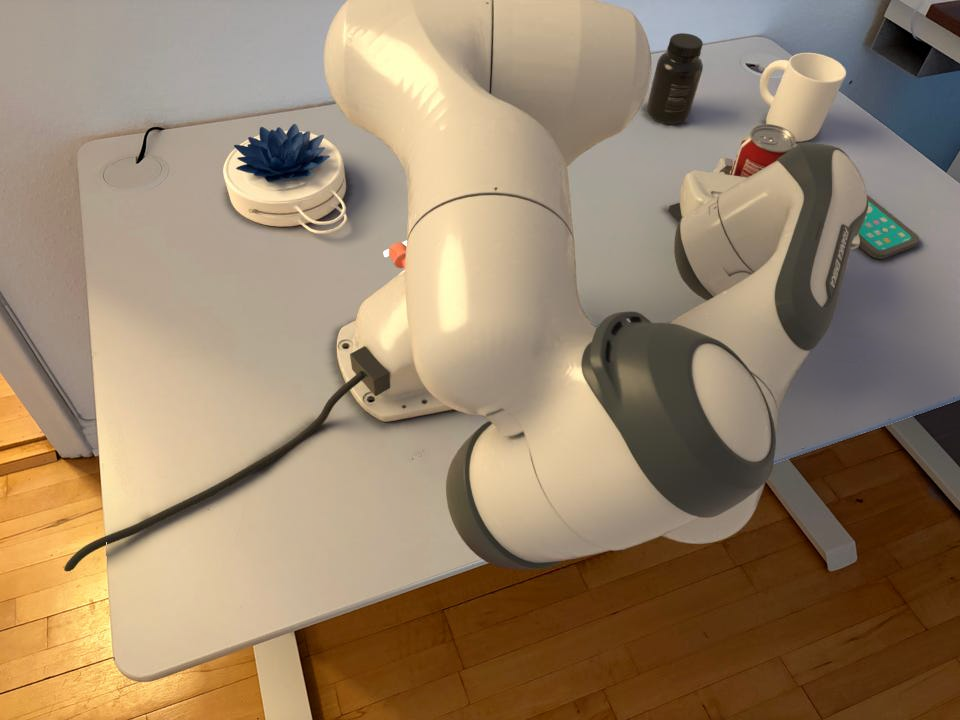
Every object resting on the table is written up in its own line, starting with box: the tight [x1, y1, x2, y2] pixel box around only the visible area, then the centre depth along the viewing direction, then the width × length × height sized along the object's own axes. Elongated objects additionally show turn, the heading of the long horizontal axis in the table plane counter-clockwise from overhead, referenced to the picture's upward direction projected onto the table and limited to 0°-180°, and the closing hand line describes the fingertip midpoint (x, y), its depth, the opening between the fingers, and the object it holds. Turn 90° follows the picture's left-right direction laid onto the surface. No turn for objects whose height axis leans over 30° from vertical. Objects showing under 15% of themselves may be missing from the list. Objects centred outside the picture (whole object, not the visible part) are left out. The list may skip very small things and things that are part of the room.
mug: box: [759, 52, 847, 143], centre depth 111 cm, size 12×8×10 cm
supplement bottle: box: [646, 32, 704, 125], centre depth 110 cm, size 7×7×12 cm
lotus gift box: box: [222, 123, 348, 235], centre depth 95 cm, size 7×16×20 cm
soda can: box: [730, 123, 797, 178], centre depth 94 cm, size 7×7×12 cm
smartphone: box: [858, 194, 920, 260], centre depth 100 cm, size 9×1×15 cm
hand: (761, 168), depth 92 cm, fingers open, 8 cm apart
